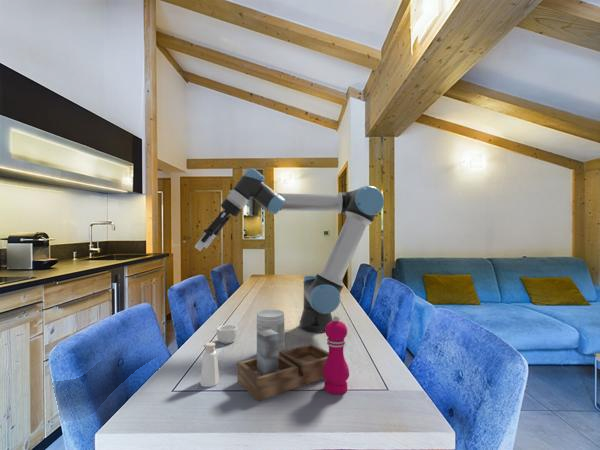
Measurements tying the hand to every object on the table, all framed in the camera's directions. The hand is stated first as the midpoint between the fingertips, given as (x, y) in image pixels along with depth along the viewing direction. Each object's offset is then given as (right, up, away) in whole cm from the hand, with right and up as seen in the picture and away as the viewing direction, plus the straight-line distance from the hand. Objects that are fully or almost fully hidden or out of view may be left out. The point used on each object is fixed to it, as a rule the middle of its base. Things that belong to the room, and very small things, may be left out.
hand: (200, 247), depth 125 cm
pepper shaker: (+13, -36, -33) cm, 50 cm away
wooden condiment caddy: (+36, -36, -29) cm, 59 cm away
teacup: (+10, -36, +1) cm, 38 cm away
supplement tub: (+28, -36, -13) cm, 48 cm away
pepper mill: (+48, -36, -36) cm, 70 cm away
